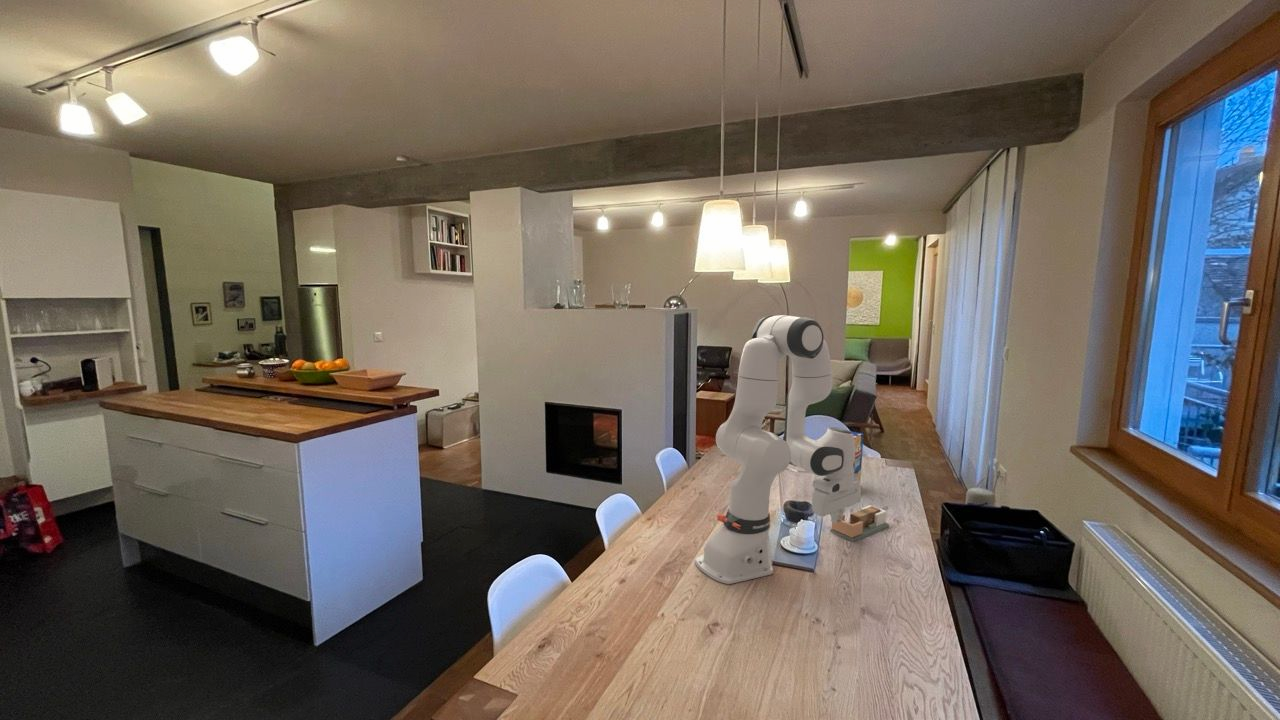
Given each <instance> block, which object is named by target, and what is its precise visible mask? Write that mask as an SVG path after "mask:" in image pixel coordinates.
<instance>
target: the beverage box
mask: <svg viewBox="0 0 1280 720" xmlns="http://www.w3.org/2000/svg"><path fill="white" fill-rule="evenodd" d="M849 431H850V430H849ZM850 432H851V433H852V434H853V436H854V439H855V460H854V462H853V467H854V474H856V475H857V476H858V477H859V482H860V483H861V476H862V462H863V448H864V436H865V435H864V433H862V432H856V431H850Z"/></svg>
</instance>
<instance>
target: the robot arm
mask: <svg viewBox="0 0 1280 720" xmlns="http://www.w3.org/2000/svg"><path fill="white" fill-rule="evenodd" d="M784 356H789V357H790V359H791V379H792V380H791V387H790V389H789V390H788V392H787V396H786V401H785V402H786V403H785V413H784V417H785V418H784V431H783V437H782V438H781V437H780V436H778V434H776V433H774V432H771V431H768V430H765V429H762V425H763V421H764V419H765V417H766V416H767V414H770V413H771V412H773V411H774V410H775V408H776V406H777V399H778V391H779V390H778V389H779V381H780V363H781V361H782V359H783V357H784ZM832 369H833V368H832V359H831V355H830V351H829V347H828V343H827V342H826V340H825V339H824V332H823V328H822V326H821V325H820V324H819V322H817V321H816V320H814V319H812V318H808V317H805V316H804V317H800V316H793V315H789V314H788V315H786V314H785V315H784V314H781V315H767V316H765V317H762V318H760V319H759V320H758V321H757V322H756V324H755V325H754V328H753V330H752V335H751V339H750V340H748V341H747V342H746V343H745V344H744V346H743V350H742V352H741V357H740V362H739V367H738V375H737V382H736V383H737V384H736V391H735V400H734V403H733V407H732V410H731V412H730V415H729V416H728V418H727V420H725V422H723V423H722V424H721V425H720V426H719V427H718V429H717V430H716V433H715V443H716V445H717V447H718V449H719V450H720V451H721V452H722V453H723V454H724V455H726V456H727V457H728V458H730V459H732V460H735V461H737V462H739V463H740V464H741V470H740V474H739V476H738V477H736V478H735V479H733V480H732V481H731V483H730V484H729V499H728V501H729V502H728V508H727V511H726V513H725V514H723V513H718V515H717V517H716V519H717V521H719V522H721V523H723V524H722V525H721V526H720V528H718V530H717V531H716V532H715V533H713V535H712V536H710V538H709V539H708V540H707V541H706V543H705V546H704V552H703V554H700V555H699V556H698V557H696V558H695V561H694V562H695V563H694V564H695V565H696V567H697V568H698V570H700V571H701V572H702V573H704V574H705V575H707V576H708V577H709V578H711V579H713V580H715V581H717V582H719V583H723V584H725V585H731V584H735V583H740V582H744V581H748V580H752V579H756V578H760V577H761V578H762V577H767V576H770V575H773V574H774V567H773V559H772V554H771V541H770V535H769V528H770V524H771V514H770V512H769V511H770V496H771V489H772V486H773V483H774V480H775V478H777V476H778V475H779V474H782V473H783V472H784V471H786V469H787V468H788V467H789V465H792V466H794V467H798V468H800V469H802V470H804V471H806V472H809V473H811V474H813V475H816V476H818V477H816V478H815V479H814V480H813V481H812V483H811V486H812V487H813V491H812V495H811V496H812V498H811V509H812V510H811V511H812V513H813V514H814V515H818V516H819V517H823V518H824V517H825V516H828V515H829V516H830V517H831V520H830V521H831V523H832V522H833V523H835V524H836V523H838V522H840V521H842V516H843V514H845V511H846V508H848V507H851V506H853V505H855V504H858V503H860V502H861V500H862V487H861V481H860V482H859V477H858V476H857V475H856V474H854V467H853V462H854V460H855V439H854V436H853V434H852V433H851V432H852V431H851V432H850V430H847V429H844V428H840V427H828V428H827V430H826V432H825V434H824V435H822V436H821V437H820V438H817V439H816V440H815V439H813V438H810V437H808V436H807V434H806V431H805V428H806V427H805V425H806V413H807V412H806V411H807V409H808V407H809V406H810V405H813V404H817V403H819V402H822V401H824V400H825V399H826V398H828V396H829V395H830V394H831V392H832V389H833V370H832Z"/></svg>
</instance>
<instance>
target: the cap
mask: <svg viewBox="0 0 1280 720" xmlns="http://www.w3.org/2000/svg"><path fill="white" fill-rule="evenodd" d="M845 517H846V514H845V513H843V516H842V521H840V522H838V523H836V524H835V523H833V522H832V521H831V529H834V530H836V531H838V532H841V533H843V534H845V535H847V536H850V537H854V536H857V535H859V534H862V530H863V522H862V521H860V522H857V523H855V524H850V523H848V522H849V521H848V522H847V521H845V520H846V518H845Z"/></svg>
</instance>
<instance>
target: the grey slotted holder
mask: <svg viewBox="0 0 1280 720" xmlns="http://www.w3.org/2000/svg"><path fill="white" fill-rule="evenodd" d="M871 506H872V507H875V508H878V507H876V506H873V505H870V504H869V505H867V506H864V507H862V508H860V510H863V509H865V508H868V507H871ZM878 509H880V512H879V513H876V514H875V519H874V523H872V524H870V525H868V527H866V528H864V529H863V530H862V534H859V535H857V536H854V537H850V536H847V535H845V534H843V533H841V532H838V531H836V530H834V529H832V528H830V533H831V534H834V535H837V536H839V537H841V538H843V539H846V540H848V541H850V542H852V543H854V542H856V541H858V540H861V539H863V538H866V537H868V536H871V535H873V534H875V533H877V532H880V531H882V530H885V529H886V528H890V525H889V524H890V523H887V522H886V521H887V510H884V509H882V508H878ZM848 523H850V521H848Z"/></svg>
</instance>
